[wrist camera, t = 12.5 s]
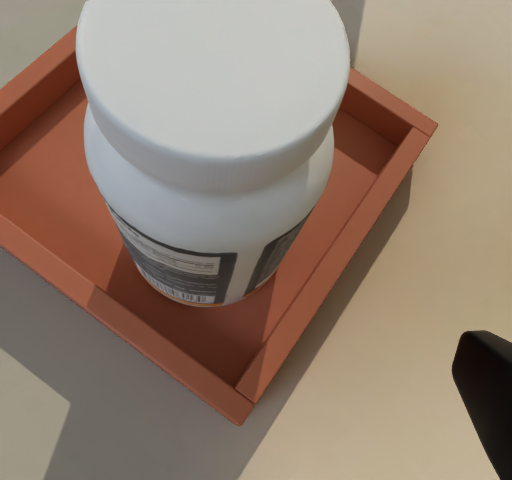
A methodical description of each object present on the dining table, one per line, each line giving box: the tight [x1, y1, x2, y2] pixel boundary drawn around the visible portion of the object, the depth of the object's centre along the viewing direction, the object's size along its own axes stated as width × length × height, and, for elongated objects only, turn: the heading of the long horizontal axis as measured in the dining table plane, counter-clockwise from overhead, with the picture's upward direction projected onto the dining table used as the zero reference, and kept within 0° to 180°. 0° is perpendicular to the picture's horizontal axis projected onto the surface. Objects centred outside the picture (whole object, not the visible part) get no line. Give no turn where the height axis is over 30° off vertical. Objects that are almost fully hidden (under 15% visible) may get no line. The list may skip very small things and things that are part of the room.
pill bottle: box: [76, 0, 350, 307], centre depth 12 cm, size 6×6×10 cm
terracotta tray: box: [0, 25, 438, 426], centre depth 17 cm, size 14×14×2 cm
